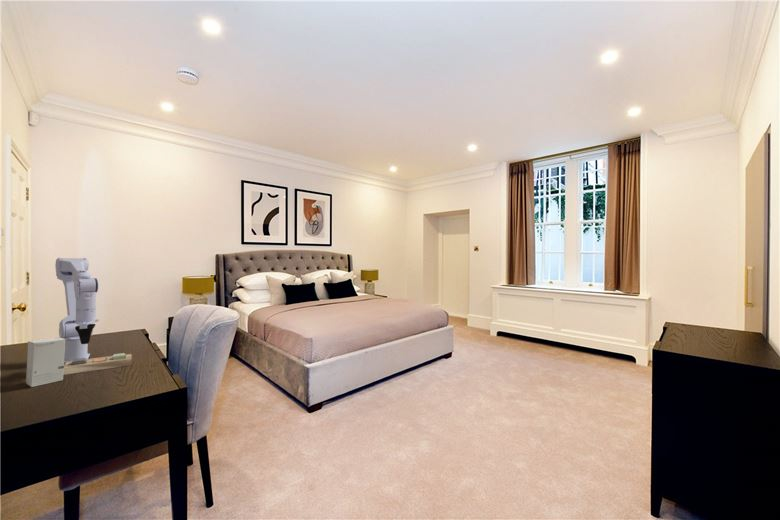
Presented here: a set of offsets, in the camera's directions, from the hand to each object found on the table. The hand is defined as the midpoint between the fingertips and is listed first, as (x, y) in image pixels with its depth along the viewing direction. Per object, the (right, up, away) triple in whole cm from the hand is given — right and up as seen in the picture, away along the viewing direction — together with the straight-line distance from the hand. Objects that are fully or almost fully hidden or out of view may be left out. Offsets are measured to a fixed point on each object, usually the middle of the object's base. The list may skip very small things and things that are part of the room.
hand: (85, 343), depth 130 cm
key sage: (+9, -8, +5) cm, 13 cm away
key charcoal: (0, -8, -2) cm, 8 cm away
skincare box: (0, -10, -15) cm, 18 cm away
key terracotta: (+4, -9, +1) cm, 10 cm away
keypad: (+4, -10, +1) cm, 11 cm away
